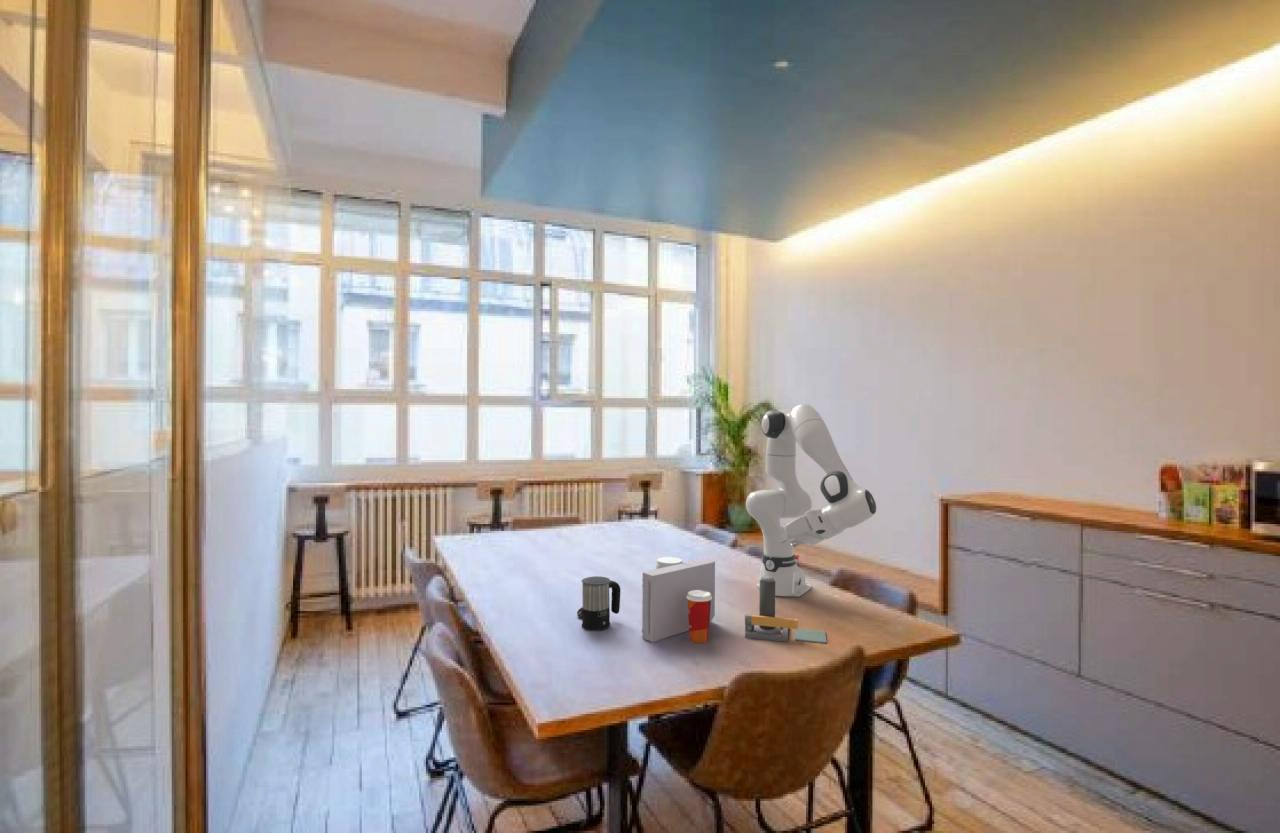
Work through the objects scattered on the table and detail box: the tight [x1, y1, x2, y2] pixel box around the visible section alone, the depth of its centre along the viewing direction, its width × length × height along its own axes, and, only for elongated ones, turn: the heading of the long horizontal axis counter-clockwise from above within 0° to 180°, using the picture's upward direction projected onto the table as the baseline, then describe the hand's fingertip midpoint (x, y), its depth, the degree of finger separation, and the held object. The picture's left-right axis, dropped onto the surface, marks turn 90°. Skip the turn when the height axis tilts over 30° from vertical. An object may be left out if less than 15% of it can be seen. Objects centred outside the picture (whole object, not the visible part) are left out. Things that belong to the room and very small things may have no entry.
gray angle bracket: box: [744, 625, 789, 642], centre depth 187 cm, size 12×12×1 cm
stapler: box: [744, 613, 799, 630], centre depth 183 cm, size 16×2×3 cm, turn 75°
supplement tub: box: [655, 556, 683, 569], centre depth 218 cm, size 10×10×15 cm
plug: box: [753, 576, 781, 635], centre depth 187 cm, size 8×8×17 cm
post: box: [744, 623, 753, 632], centre depth 185 cm, size 2×2×3 cm
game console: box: [641, 558, 716, 643], centre depth 189 cm, size 6×27×20 cm, turn 130°
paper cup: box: [686, 590, 712, 644], centre depth 180 cm, size 8×8×14 cm
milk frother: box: [576, 575, 621, 632], centre depth 195 cm, size 14×16×15 cm
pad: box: [794, 628, 827, 644], centre depth 183 cm, size 9×9×1 cm
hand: (785, 542), depth 189 cm, fingers open, 8 cm apart
